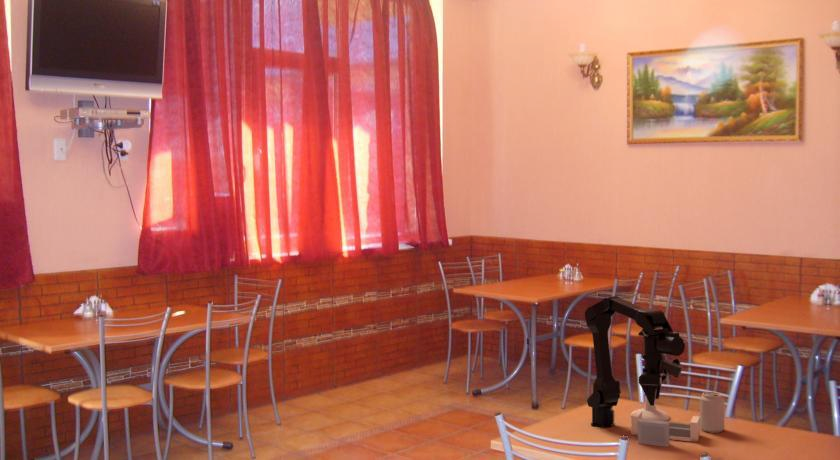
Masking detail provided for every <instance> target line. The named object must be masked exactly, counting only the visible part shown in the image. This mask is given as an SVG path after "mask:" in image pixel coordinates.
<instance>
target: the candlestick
mask: <svg viewBox="0 0 840 460" xmlns="http://www.w3.org/2000/svg"><path fill="white" fill-rule="evenodd" d="M644 396H645V397H644V406H643V407H644V408H643V407H642V408H638V409H635V410H634V411H632V412H631V413H630V417H631V416H632V415H633V413H634V412H635V411H636V410H641V411H642V419H648V420H658V421H667V422H668V421H669V420H670V415H669V414H668V413H667V412H665V411H664V410H662V409H658V408H657V407H656V402H655V403H654V406H651V405H650V404H649V401H648V399H647V397H646V395H645V394H644Z"/></svg>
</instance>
